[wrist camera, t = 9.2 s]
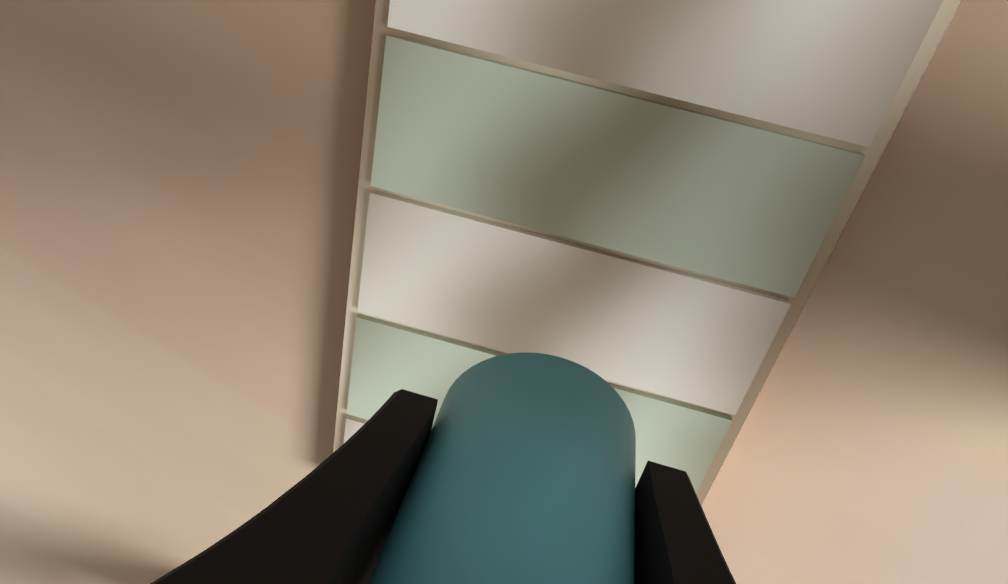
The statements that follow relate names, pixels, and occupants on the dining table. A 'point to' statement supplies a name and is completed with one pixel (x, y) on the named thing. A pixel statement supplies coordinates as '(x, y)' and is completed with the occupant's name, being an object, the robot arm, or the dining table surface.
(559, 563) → the pawn
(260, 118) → the dining table surface
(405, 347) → the board
